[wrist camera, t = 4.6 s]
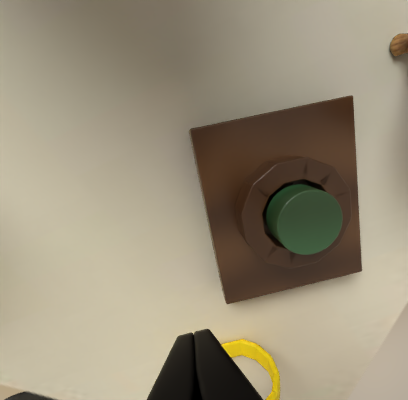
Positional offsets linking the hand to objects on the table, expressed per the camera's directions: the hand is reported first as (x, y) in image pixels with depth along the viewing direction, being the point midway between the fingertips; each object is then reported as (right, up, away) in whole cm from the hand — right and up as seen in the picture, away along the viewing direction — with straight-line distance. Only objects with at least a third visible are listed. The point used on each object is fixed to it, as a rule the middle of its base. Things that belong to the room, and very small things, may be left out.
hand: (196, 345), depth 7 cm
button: (+6, +3, +8) cm, 10 cm away
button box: (+5, +4, +11) cm, 13 cm away
